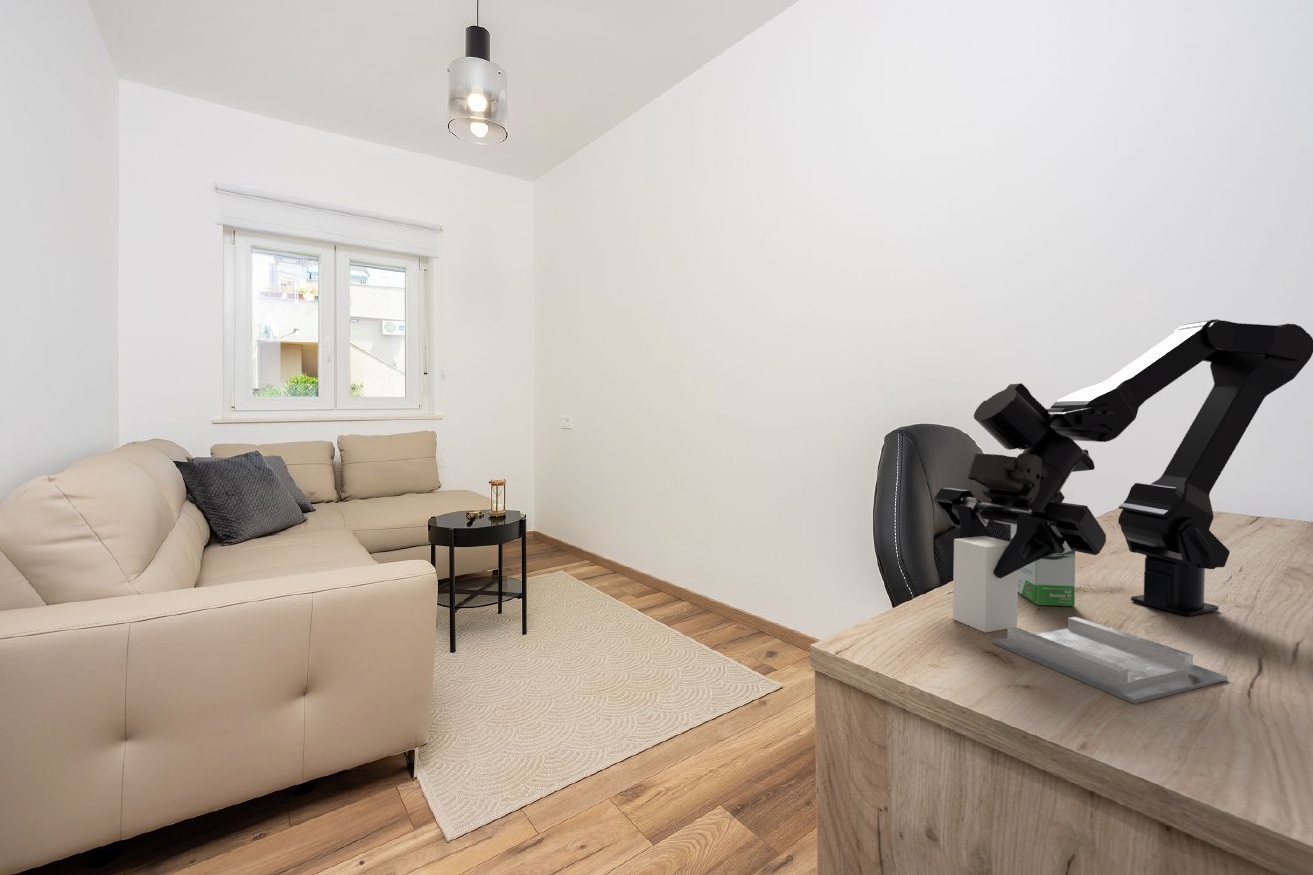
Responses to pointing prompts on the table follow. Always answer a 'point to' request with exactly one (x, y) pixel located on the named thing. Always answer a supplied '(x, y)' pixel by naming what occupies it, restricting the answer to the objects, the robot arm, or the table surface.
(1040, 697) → the table surface
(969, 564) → the block
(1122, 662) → the rail panel
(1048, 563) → the ink box
